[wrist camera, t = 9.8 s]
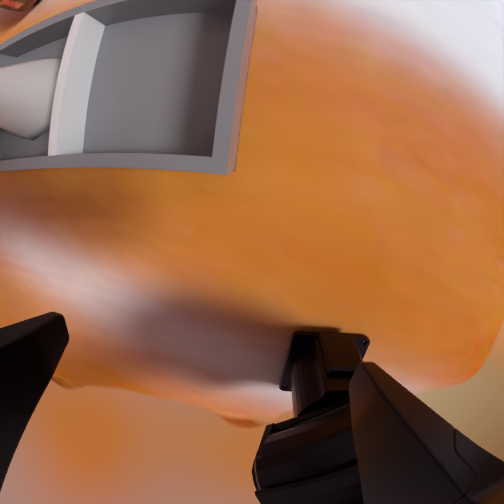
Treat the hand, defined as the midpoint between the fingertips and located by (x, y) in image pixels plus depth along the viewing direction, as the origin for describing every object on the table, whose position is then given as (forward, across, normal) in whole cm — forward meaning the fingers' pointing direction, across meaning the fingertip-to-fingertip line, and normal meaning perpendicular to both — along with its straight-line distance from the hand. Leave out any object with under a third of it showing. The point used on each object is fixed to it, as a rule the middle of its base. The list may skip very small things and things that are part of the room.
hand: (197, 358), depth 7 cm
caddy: (+12, +12, -10) cm, 19 cm away
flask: (+11, +17, -10) cm, 23 cm away
